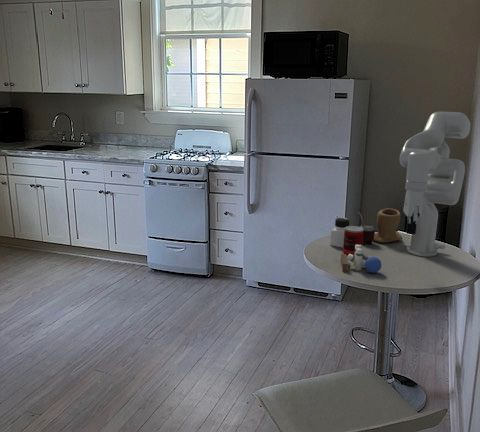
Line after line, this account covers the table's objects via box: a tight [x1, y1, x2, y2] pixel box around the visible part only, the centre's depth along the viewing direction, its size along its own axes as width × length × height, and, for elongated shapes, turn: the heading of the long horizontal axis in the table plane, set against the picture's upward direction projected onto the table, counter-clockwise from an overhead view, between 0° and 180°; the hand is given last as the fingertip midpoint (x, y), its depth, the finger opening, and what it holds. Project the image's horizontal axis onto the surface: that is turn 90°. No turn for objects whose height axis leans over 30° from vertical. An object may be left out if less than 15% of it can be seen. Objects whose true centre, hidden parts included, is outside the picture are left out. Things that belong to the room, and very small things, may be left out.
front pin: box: [347, 254, 366, 269], centre depth 197 cm, size 2×2×8 cm
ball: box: [364, 256, 382, 274], centre depth 192 cm, size 6×6×6 cm
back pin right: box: [353, 245, 363, 266], centre depth 199 cm, size 2×2×8 cm
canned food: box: [342, 225, 363, 256], centre depth 213 cm, size 8×8×11 cm
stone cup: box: [373, 207, 403, 243], centre depth 232 cm, size 15×12×15 cm
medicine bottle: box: [329, 217, 350, 249], centre depth 224 cm, size 7×7×12 cm
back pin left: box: [354, 248, 364, 271], centre depth 194 cm, size 2×2×8 cm
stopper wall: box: [340, 253, 349, 273], centre depth 198 cm, size 2×12×3 cm, turn 173°
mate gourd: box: [356, 210, 376, 246], centre depth 227 cm, size 8×8×15 cm
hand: (410, 233), depth 192 cm, fingers closed
